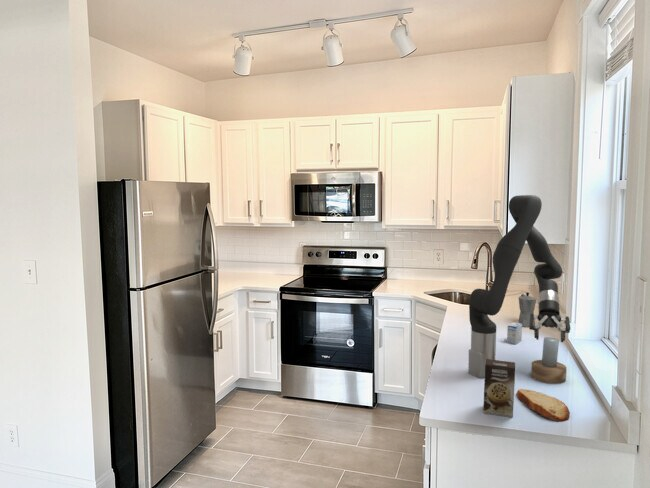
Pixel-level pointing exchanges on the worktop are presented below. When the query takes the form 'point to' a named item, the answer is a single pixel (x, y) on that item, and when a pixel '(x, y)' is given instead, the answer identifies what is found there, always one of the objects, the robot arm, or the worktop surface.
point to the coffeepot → (526, 309)
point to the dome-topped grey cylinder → (550, 352)
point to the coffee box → (499, 387)
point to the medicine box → (514, 333)
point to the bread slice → (544, 405)
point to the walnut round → (548, 372)
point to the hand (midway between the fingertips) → (549, 339)
